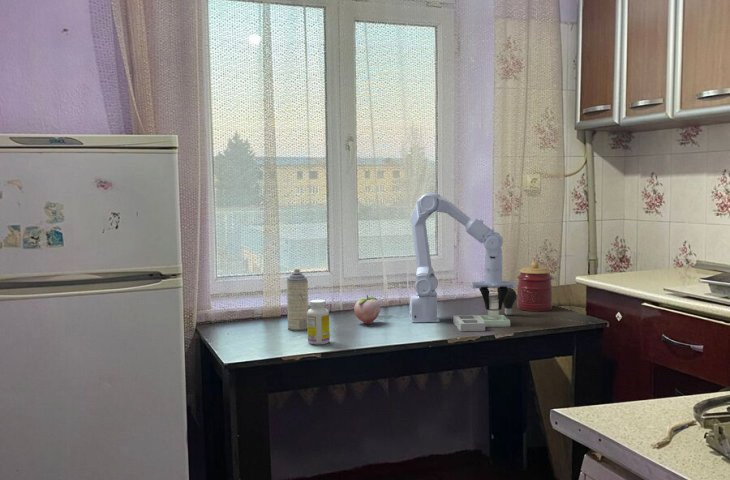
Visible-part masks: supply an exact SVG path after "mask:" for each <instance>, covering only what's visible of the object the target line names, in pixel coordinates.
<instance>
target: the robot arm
mask: <svg viewBox="0 0 730 480" xmlns="http://www.w3.org/2000/svg"><path fill="white" fill-rule="evenodd" d="M434 212H437V213H445V214H447V215H448V216H450V217H451V218H453V219H454V220H455V221H457V222H459V223H460V224H461V225H463V226H464V227H465V232H466V233H467V234H468V235H470V236H471V237H472V238H474V240H476V241H477V242H478V243H480V244H483V246H484V248H485V256H484V280H482V281H471V289H479V292H480V294H481V295H482V296H481V297H482V298H483V302H484V308H485V310H486V311H488V310H489V298H490V290H489V289H497V290H496V291H497V298H498V299H499V311H500V310H502V307H503V300H504V298H505V296H506V294H507V292H508V289H507V288H512V289H515V288H516V287H517V285H516V281H515V280H514V281H513V280H511V281H505V280H503V250H502V247H503V244H504V239H503V236H502V235H501V234H500V233H499V232H496V231H495V229H494V228H492V229H491V228H490V227H489V226H487V225H486V224H485V223H484V220H482V219H481V218H480V219H478V218H471V217H470V216H468V215H467V214H466V213H464V212H463V211H462V210H461V209H460V208H459V207H457V206H456V204H454V203H452V202H451V201H450V200H448V199H447V198H446V197H444V196H441V195H440V194H439V193H437V192H430V193H429V192H427V193H424V194H422V195H421V196H420V197H418V199H417V200H416V202H415V206H414V208H413V210H412V212H411V215H410V226H411V234H412V241H413V242H412V243H413V248H414V255H415V262H416V263H415V264H416V272H415V273H416V274H415V277H416V278H415V282H414V290H415V291H416V292H415V294H413V295H412V294H410V296H409V313H408V314H409V319H410V321H411V323H440V322H441V321H440V319H439V317H438V313H437V312H438V293H437V292H436V289H437V288H438V286H439V280H438V279H437V277H436V275H435V272H434V269H433V266H432V261H431V260H432V259H431V254H430V244H429V238H428V231H427V223H426V221H427V220H428V218H429V217H430V216H431V215H432V214H433V213H434Z"/></svg>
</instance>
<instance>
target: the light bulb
mask: <svg viewBox="0 0 730 480" xmlns="http://www.w3.org/2000/svg"><path fill="white" fill-rule="evenodd" d="M507 289H508V292H507V294H506V296H505V298H504V300H503V303H502V305H503V308H504V314H505V315H506V316H507V317H509V316H510V315H511V314H512V313H513V310H512V309H513V305H514V303H515V301H517V300H516V299H517V291H515V289H514V288H507Z"/></svg>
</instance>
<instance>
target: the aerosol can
mask: <svg viewBox="0 0 730 480" xmlns="http://www.w3.org/2000/svg"><path fill="white" fill-rule="evenodd" d="M293 271H294V272H293V273H292V274H290V275H289V277H288V278H287V280H286V299H287V300H286V301H287V302H286V303H287V304H286V305H287V330H288V331H289V332H304V331H305V332H306V331H308V325H307V312H308V310H309V291H308V290H309V288H308V287H309V285H308V284H309V283H308V277H306V276H305V275H304V274H303V273H302V272H301V269H300V268H294V270H293Z"/></svg>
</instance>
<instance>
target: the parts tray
mask: <svg viewBox="0 0 730 480" xmlns="http://www.w3.org/2000/svg"><path fill="white" fill-rule="evenodd" d="M476 315H477V314H476ZM477 316H478V317H479V318H480V319H481V320H482V321H483V322H484V323H485V328H496V327H497V328H500V327H502V328H503V327H504V328H505V327H506V328H507V327H511V320H510V319H509V318H508V317H506V316H505V315H503V314H499V320H488V314H485V315H477Z"/></svg>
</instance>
